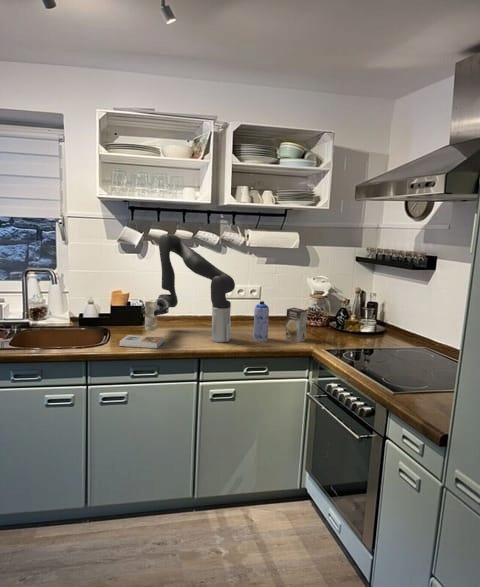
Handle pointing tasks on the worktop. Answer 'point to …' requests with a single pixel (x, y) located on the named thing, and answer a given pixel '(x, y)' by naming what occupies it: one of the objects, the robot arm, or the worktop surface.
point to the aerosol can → (261, 322)
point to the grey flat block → (141, 341)
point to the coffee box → (295, 324)
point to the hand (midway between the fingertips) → (149, 313)
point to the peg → (150, 315)
